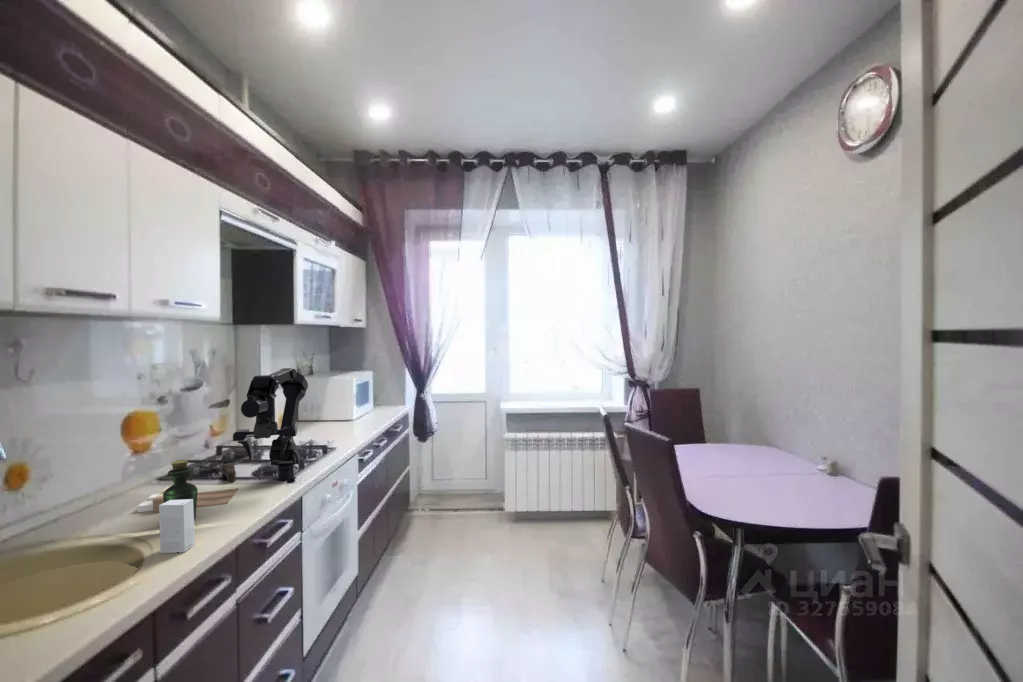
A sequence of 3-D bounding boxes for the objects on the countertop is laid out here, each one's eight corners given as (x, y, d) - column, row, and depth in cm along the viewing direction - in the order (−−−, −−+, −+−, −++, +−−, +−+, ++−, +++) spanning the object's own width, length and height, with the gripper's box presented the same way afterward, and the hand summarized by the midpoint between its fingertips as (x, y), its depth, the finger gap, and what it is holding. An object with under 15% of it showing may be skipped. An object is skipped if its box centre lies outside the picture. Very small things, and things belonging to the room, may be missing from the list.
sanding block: (168, 500, 154) (168, 485, 154) (183, 499, 156) (182, 484, 156) (153, 515, 141) (152, 499, 141) (169, 514, 142) (168, 497, 142)
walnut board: (191, 496, 157) (191, 493, 157) (238, 491, 162) (238, 488, 162) (174, 513, 142) (174, 510, 142) (227, 507, 147) (227, 503, 147)
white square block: (144, 511, 145) (143, 501, 145) (159, 509, 146) (158, 500, 146) (137, 516, 141) (137, 506, 141) (153, 514, 142) (152, 504, 142)
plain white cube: (152, 503, 152) (152, 494, 152) (167, 501, 153) (167, 492, 153) (148, 507, 148) (147, 498, 148) (163, 505, 149) (163, 496, 149)
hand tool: (222, 474, 183) (222, 462, 183) (234, 472, 185) (234, 461, 185) (223, 487, 167) (223, 474, 167) (236, 485, 169) (236, 472, 169)
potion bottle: (169, 533, 128) (167, 467, 127) (159, 526, 133) (157, 462, 132) (203, 523, 134) (201, 460, 134) (192, 517, 139) (190, 456, 139)
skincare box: (195, 545, 120) (194, 498, 120) (184, 553, 116) (183, 504, 116) (171, 546, 120) (169, 499, 120) (159, 553, 115) (157, 505, 115)
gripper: (228, 418, 147) (229, 467, 148) (293, 414, 153) (294, 461, 154) (236, 413, 158) (237, 459, 158) (296, 409, 164) (297, 453, 164)
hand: (266, 458), depth 158 cm, fingers open, 9 cm apart
